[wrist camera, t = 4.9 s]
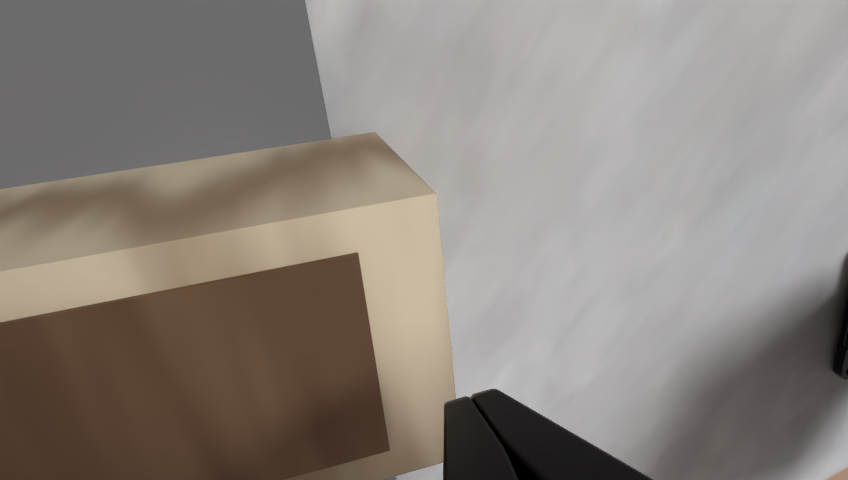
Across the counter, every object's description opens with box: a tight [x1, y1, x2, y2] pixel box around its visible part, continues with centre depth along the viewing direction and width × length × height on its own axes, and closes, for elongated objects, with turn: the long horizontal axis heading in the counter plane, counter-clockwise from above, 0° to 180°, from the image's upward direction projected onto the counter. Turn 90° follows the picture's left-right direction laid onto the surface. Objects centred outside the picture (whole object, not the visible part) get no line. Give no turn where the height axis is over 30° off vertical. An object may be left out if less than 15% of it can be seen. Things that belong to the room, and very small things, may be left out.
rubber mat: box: [0, 0, 396, 480], centre depth 15 cm, size 12×20×1 cm, turn 7°
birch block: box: [0, 132, 456, 480], centre depth 12 cm, size 6×6×10 cm
